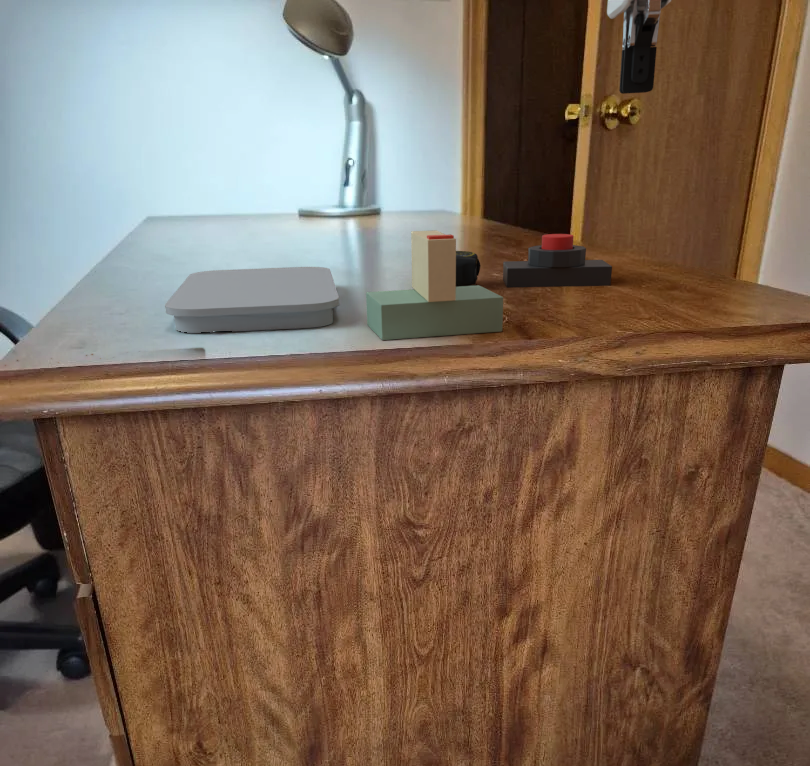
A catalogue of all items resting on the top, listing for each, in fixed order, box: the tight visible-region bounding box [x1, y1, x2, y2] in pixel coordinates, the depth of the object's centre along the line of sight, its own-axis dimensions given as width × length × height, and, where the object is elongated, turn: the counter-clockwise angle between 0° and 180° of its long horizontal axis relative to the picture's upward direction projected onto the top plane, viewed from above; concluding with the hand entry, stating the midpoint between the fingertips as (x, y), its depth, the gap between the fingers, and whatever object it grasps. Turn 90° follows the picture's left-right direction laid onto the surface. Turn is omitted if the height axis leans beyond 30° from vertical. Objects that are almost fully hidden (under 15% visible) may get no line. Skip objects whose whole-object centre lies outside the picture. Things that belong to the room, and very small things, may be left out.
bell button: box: [541, 233, 575, 250], centre depth 92 cm, size 4×4×2 cm
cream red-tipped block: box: [410, 229, 457, 302], centre depth 70 cm, size 8×2×5 cm, turn 10°
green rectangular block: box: [365, 284, 504, 341], centre depth 72 cm, size 11×7×3 cm, turn 103°
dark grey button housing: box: [502, 244, 613, 288], centre depth 93 cm, size 12×6×4 cm, turn 88°
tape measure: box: [456, 250, 481, 286], centre depth 93 cm, size 7×7×4 cm
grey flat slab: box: [164, 266, 340, 334], centre depth 84 cm, size 16×26×2 cm, turn 7°
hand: (635, 92), depth 84 cm, fingers closed
